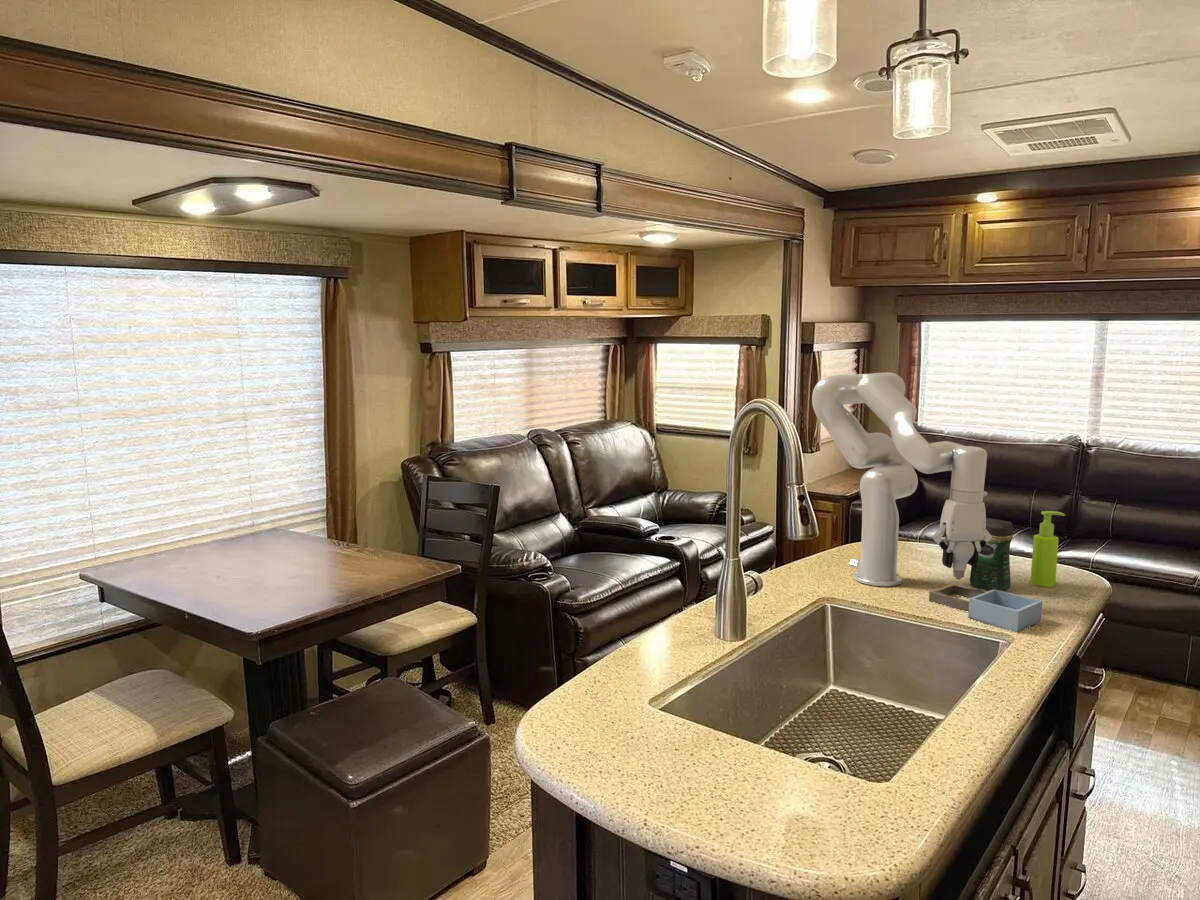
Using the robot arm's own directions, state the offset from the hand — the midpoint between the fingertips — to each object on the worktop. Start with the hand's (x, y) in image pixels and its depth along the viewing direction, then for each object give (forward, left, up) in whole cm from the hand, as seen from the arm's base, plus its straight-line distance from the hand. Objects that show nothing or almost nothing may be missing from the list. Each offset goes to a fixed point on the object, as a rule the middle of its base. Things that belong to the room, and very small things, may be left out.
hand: (959, 565), depth 206 cm
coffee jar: (-1, +18, -10) cm, 21 cm away
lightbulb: (0, 0, -4) cm, 4 cm away
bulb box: (+14, -4, -9) cm, 17 cm away
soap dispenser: (+7, +32, -10) cm, 34 cm away
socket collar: (+1, 0, -9) cm, 10 cm away
